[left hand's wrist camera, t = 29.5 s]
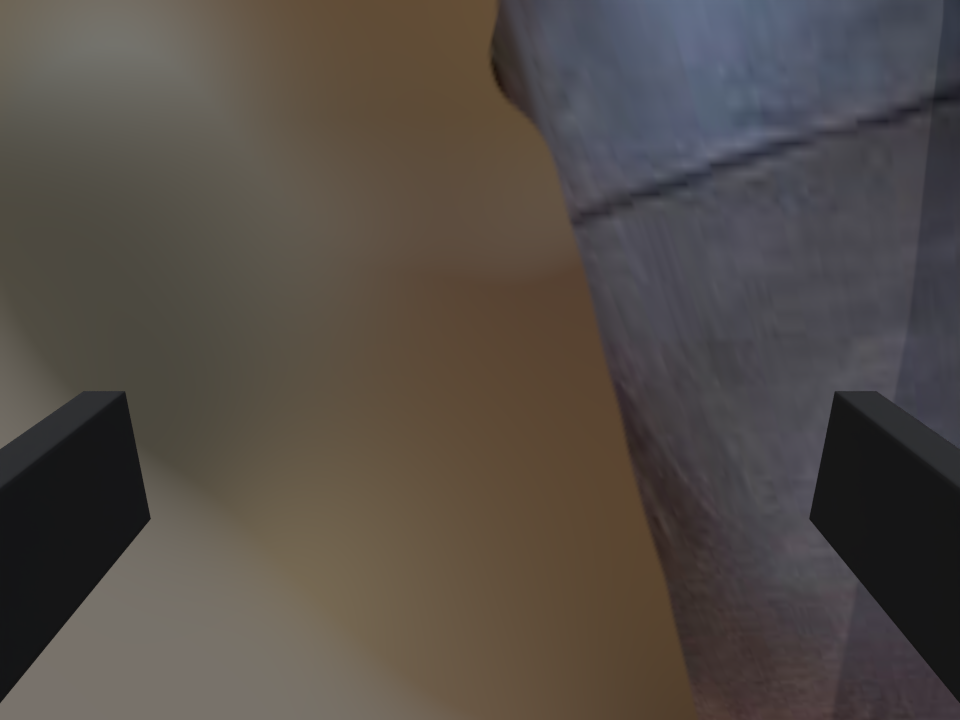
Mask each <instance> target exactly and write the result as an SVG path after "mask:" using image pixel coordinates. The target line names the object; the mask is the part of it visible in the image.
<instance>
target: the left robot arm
mask: <svg viewBox="0 0 960 720" xmlns="http://www.w3.org/2000/svg"><path fill="white" fill-rule="evenodd" d="M150 519H151V518H150V513H149V508H148V503H147V498H146V493H145V488H144V483H143V478H142V473H141V468H140V464H139V458H138V453H137V449H136V444H135V439H134V434H133V428H132V424H131V419H130V414H129V409H128V404H127V399H126V394H125V391H84V392H82V393H81V394H79V395H78V396H76V397H75V398H73V399H72V400H70V401H69V402H68V403H66V404H65V405H63V406H62V407H60V408H59V409H57V410H56V411H55V412H53V413H52V414H50V415H49V416H47V417H46V418H45V419H43V420H42V421H40V422H39V423H37V424H36V425H35V426H33V427H32V428H30V429H29V430H27V431H26V432H24V433H23V434H22V435H20V436H19V437H17V438H16V439H14V440H13V441H11V442H10V443H9V444H7V445H6V446H4V447H3V448H1V449H0V703H1V701H2V700H3V699H4V698H5V697H6V695H7V694H8V693H9V692H10V690H11V689H12V688H13V687H14V686H15V684H16V683H17V682H18V681H19V679H20V678H21V677H22V676H23V675H24V673H25V672H26V671H27V670H28V668H29V667H30V666H31V665H32V663H33V662H34V661H35V660H36V659H37V657H38V656H39V655H40V654H41V653H42V651H43V650H44V649H45V647H46V646H47V645H48V644H49V643H50V641H51V640H52V639H53V638H54V637H55V635H56V634H57V633H58V632H59V630H60V629H61V628H62V627H63V626H64V624H65V623H66V622H67V621H68V619H69V618H70V617H71V616H72V614H73V613H74V612H75V611H76V610H77V608H78V607H79V606H80V605H81V604H82V602H83V601H84V600H85V599H86V597H87V596H88V595H89V594H90V592H91V591H92V590H93V589H94V588H95V586H96V585H97V584H98V583H99V582H100V580H101V579H102V578H103V577H104V575H105V574H106V573H107V572H108V570H109V569H110V568H111V567H112V566H113V564H114V563H115V562H116V561H117V559H118V558H119V557H120V556H121V555H122V553H123V552H124V551H125V550H126V548H127V547H128V546H129V545H130V544H131V542H132V541H133V540H134V539H135V537H136V536H137V535H138V534H139V533H140V531H141V530H142V529H143V528H144V526H145V525H146V524H147V523H148V522H149V520H150ZM809 519H810V520H811V522H812V523H813V524H814V525H815V526H816V528H817V529H818V530H819V531H820V533H821V534H822V535H823V536H824V537H825V539H826V540H827V541H828V542H829V544H830V545H831V546H832V547H833V548H834V550H835V551H836V552H837V553H838V555H839V556H840V557H841V558H842V560H843V561H844V562H845V563H846V564H847V566H848V567H849V568H850V569H851V571H852V572H853V573H854V574H855V575H856V577H857V578H858V579H859V580H860V582H861V583H862V584H863V585H864V586H865V588H866V589H867V590H868V591H869V593H870V594H871V595H872V596H873V597H874V599H875V600H876V601H877V602H878V604H879V605H880V606H881V607H882V608H883V610H884V611H885V612H886V613H887V615H888V616H889V617H890V618H891V619H892V621H893V622H894V623H895V624H896V626H897V627H898V628H899V629H900V630H901V632H902V633H903V634H904V635H905V637H906V638H907V639H908V640H909V642H910V643H911V644H912V645H913V646H914V648H915V649H916V650H917V651H918V653H919V654H920V655H921V656H922V657H923V659H924V660H925V661H926V662H927V664H928V665H929V666H930V667H931V668H932V670H933V671H934V672H935V673H936V675H937V676H938V677H939V678H940V679H941V681H942V682H943V683H944V684H945V686H946V687H947V688H948V689H949V690H950V692H951V693H952V694H953V695H954V697H955V698H956V699H957V700H958V701H959V703H960V449H959V448H957V447H956V446H954V445H953V444H951V443H950V442H949V441H947V440H946V439H944V438H943V437H941V436H940V435H938V434H937V433H936V432H934V431H933V430H931V429H930V428H928V427H927V426H926V425H924V424H923V423H921V422H920V421H918V420H917V419H915V418H914V417H913V416H911V415H910V414H908V413H907V412H905V411H904V410H903V409H901V408H900V407H898V406H897V405H895V404H894V403H892V402H891V401H890V400H888V399H887V398H885V397H884V396H882V395H881V394H879V393H878V392H877V391H835V394H834V399H833V404H832V409H831V414H830V418H829V423H828V428H827V433H826V438H825V443H824V448H823V453H822V458H821V463H820V468H819V473H818V478H817V483H816V488H815V493H814V498H813V503H812V508H811V513H810V518H809Z"/></svg>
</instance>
